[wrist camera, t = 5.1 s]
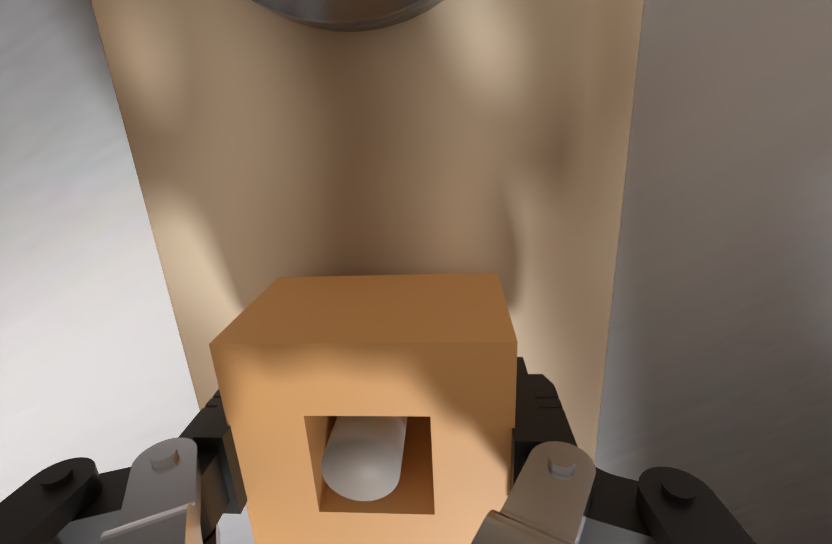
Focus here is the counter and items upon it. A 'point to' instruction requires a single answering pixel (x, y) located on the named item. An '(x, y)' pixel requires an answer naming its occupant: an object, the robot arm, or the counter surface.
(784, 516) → the counter surface
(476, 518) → the collar
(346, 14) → the hub
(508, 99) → the stand board
